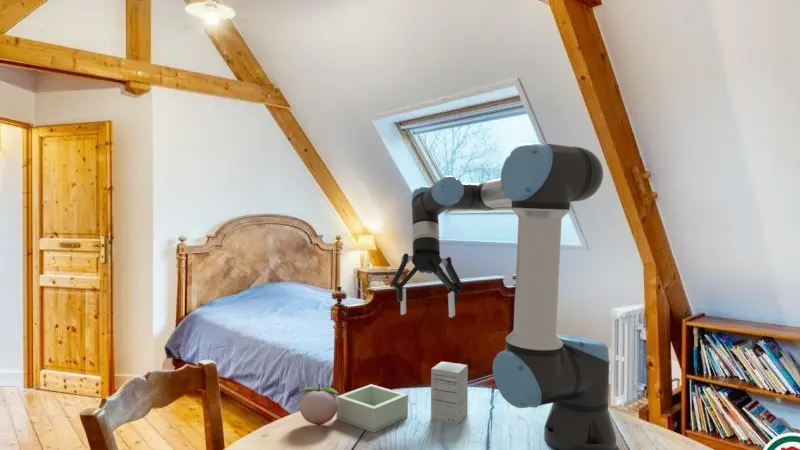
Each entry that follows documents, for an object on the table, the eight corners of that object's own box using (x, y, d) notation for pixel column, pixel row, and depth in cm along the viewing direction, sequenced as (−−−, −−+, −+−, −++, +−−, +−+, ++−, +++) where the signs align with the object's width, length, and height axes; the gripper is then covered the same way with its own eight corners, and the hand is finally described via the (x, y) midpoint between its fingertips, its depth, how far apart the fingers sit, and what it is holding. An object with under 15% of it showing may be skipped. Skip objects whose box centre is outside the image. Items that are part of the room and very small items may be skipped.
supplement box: (440, 409, 133) (441, 360, 133) (468, 414, 130) (468, 364, 129) (429, 419, 126) (430, 368, 126) (458, 425, 123) (458, 372, 123)
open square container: (407, 416, 128) (407, 394, 127) (373, 432, 118) (374, 408, 118) (370, 404, 135) (371, 384, 135) (336, 418, 126) (336, 396, 126)
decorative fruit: (297, 434, 117) (297, 390, 116) (300, 420, 125) (300, 379, 125) (339, 432, 118) (339, 389, 118) (339, 418, 126) (339, 378, 126)
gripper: (462, 248, 151) (466, 320, 143) (379, 241, 145) (379, 315, 137) (472, 239, 144) (477, 314, 136) (386, 231, 138) (385, 309, 130)
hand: (428, 315), depth 137 cm, fingers open, 13 cm apart
